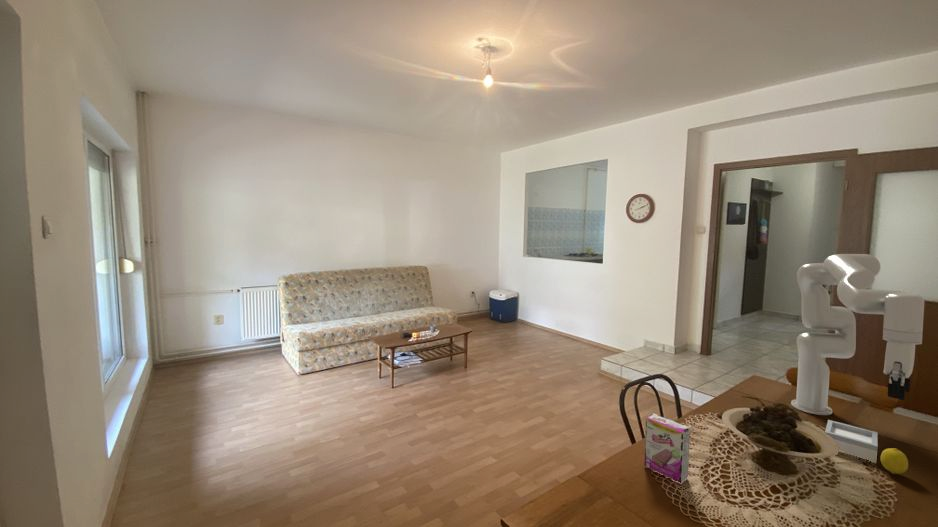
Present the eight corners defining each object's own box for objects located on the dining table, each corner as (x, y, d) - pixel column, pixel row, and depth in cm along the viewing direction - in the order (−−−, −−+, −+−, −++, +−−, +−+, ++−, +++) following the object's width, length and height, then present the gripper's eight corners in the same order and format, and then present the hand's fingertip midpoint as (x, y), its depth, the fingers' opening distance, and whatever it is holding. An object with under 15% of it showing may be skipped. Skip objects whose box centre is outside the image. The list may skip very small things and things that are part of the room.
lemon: (898, 470, 116) (900, 445, 115) (912, 481, 110) (914, 455, 110) (874, 466, 117) (876, 441, 117) (887, 477, 112) (889, 451, 112)
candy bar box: (643, 468, 118) (644, 417, 117) (651, 462, 121) (653, 412, 120) (681, 487, 109) (683, 432, 108) (688, 480, 112) (690, 426, 111)
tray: (827, 434, 136) (828, 419, 135) (876, 448, 127) (877, 432, 127) (823, 447, 128) (825, 431, 127) (876, 463, 119) (877, 446, 119)
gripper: (888, 330, 118) (885, 384, 119) (877, 338, 108) (874, 396, 109) (925, 334, 112) (922, 391, 113) (918, 343, 102) (914, 406, 103)
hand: (898, 394), depth 111 cm, fingers open, 9 cm apart
